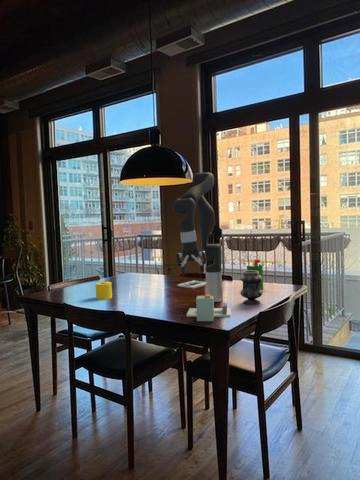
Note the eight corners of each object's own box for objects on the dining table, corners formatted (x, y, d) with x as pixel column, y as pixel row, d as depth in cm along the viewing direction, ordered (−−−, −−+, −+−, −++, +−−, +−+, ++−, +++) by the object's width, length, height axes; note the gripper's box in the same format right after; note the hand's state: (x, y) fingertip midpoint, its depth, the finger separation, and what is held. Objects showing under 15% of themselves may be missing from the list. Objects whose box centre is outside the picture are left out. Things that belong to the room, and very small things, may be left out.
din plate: (186, 316, 189) (186, 306, 188) (189, 310, 201) (189, 300, 201) (230, 316, 185) (230, 306, 185) (231, 310, 198) (230, 300, 197)
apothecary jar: (266, 302, 211) (266, 270, 209) (254, 306, 203) (253, 273, 201) (249, 299, 220) (248, 268, 218) (236, 303, 211) (235, 271, 210)
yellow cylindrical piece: (111, 295, 245) (110, 281, 245) (113, 298, 236) (112, 283, 235) (95, 297, 242) (94, 282, 242) (96, 300, 233) (96, 285, 232)
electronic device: (193, 286, 256) (177, 284, 266) (193, 289, 256) (177, 287, 266) (209, 281, 269) (193, 279, 280) (209, 284, 270) (194, 282, 280)
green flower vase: (256, 286, 253) (255, 257, 252) (266, 288, 246) (265, 258, 244) (245, 289, 248) (244, 259, 246) (255, 291, 240) (254, 260, 239)
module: (196, 321, 180) (196, 296, 180) (198, 317, 186) (197, 293, 185) (213, 321, 179) (212, 296, 178) (214, 317, 185) (213, 293, 184)
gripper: (205, 237, 181) (209, 270, 183) (177, 240, 185) (181, 272, 187) (201, 240, 174) (206, 274, 176) (172, 243, 178) (177, 276, 180)
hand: (193, 273), depth 182 cm, fingers open, 8 cm apart
